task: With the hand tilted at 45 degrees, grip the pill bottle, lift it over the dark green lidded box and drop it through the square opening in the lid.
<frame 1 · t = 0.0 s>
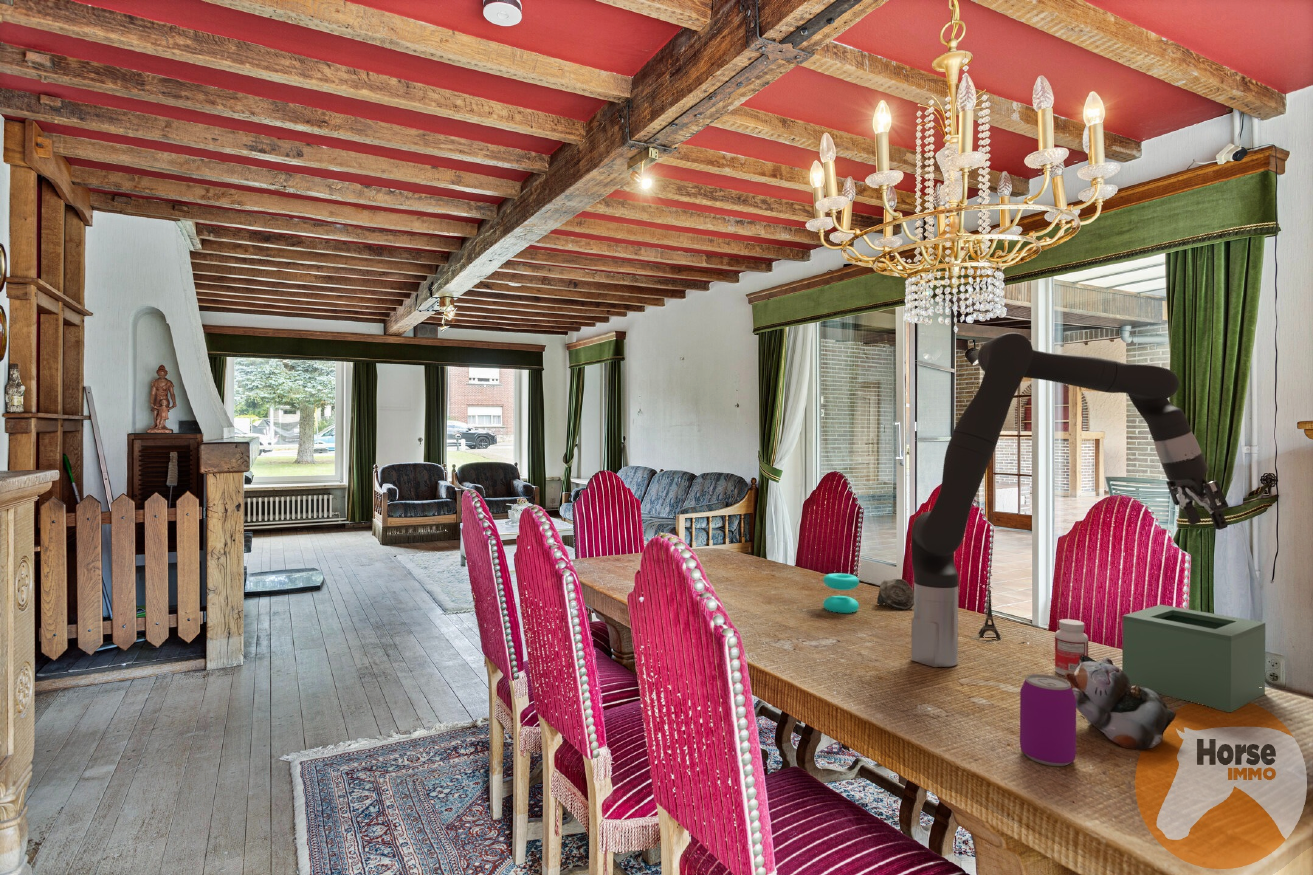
hand: (1208, 525, 154), 31 cm above the table, tool tilted 20°, fingers open, 8 cm apart
pill bottle: (1071, 674, 151), on the table
eiffel tower figurine: (987, 639, 180), on the table
lucky cat figurine: (1117, 735, 120), on the table
beverage can: (1047, 758, 111), on the table
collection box: (1192, 688, 143), on the table
donuts: (840, 610, 206), on the table
fossil: (895, 607, 211), on the table
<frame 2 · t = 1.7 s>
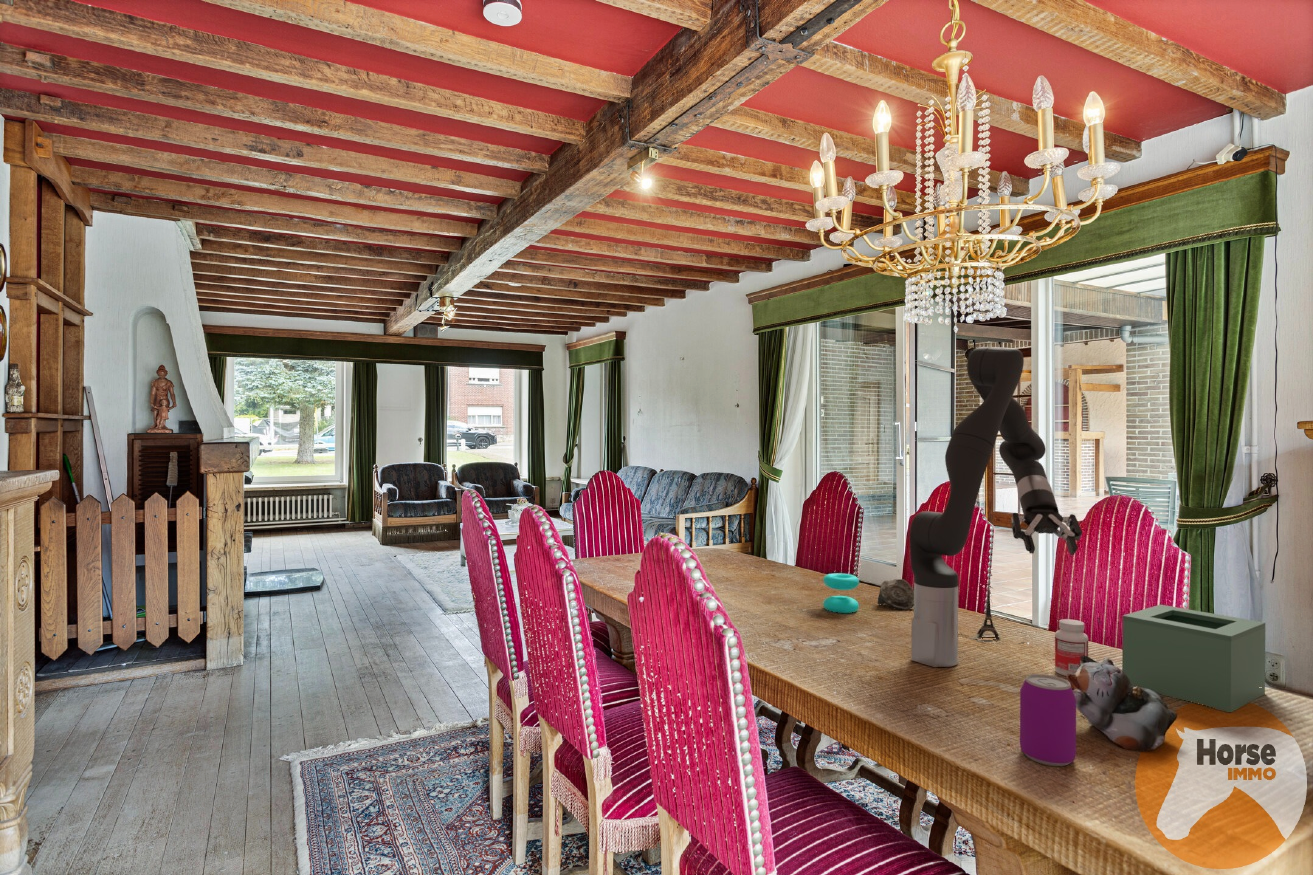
hand: (1052, 552, 163), 24 cm above the table, tool tilted 45°, fingers open, 8 cm apart
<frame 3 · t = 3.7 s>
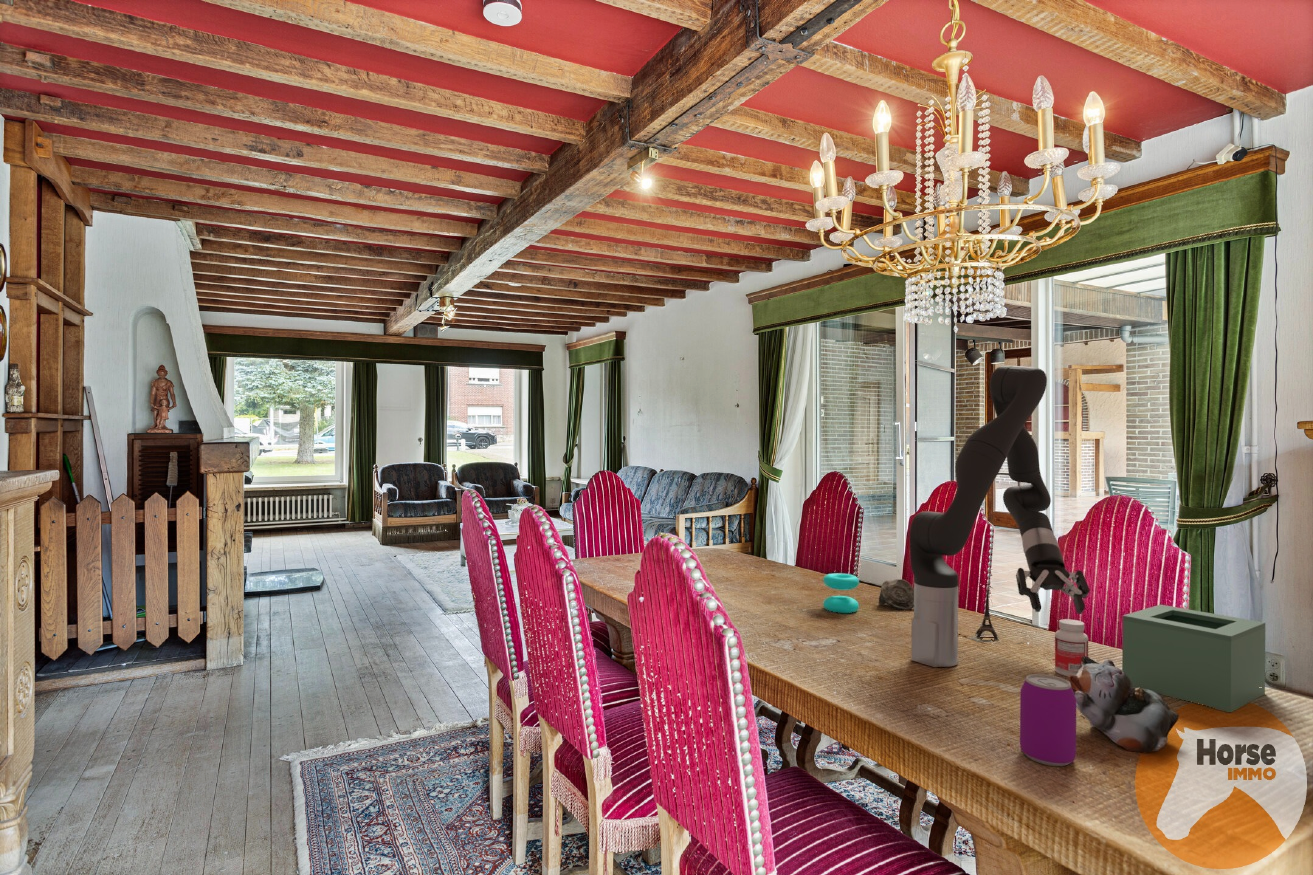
hand: (1059, 611, 158), 12 cm above the table, tool tilted 45°, fingers open, 8 cm apart
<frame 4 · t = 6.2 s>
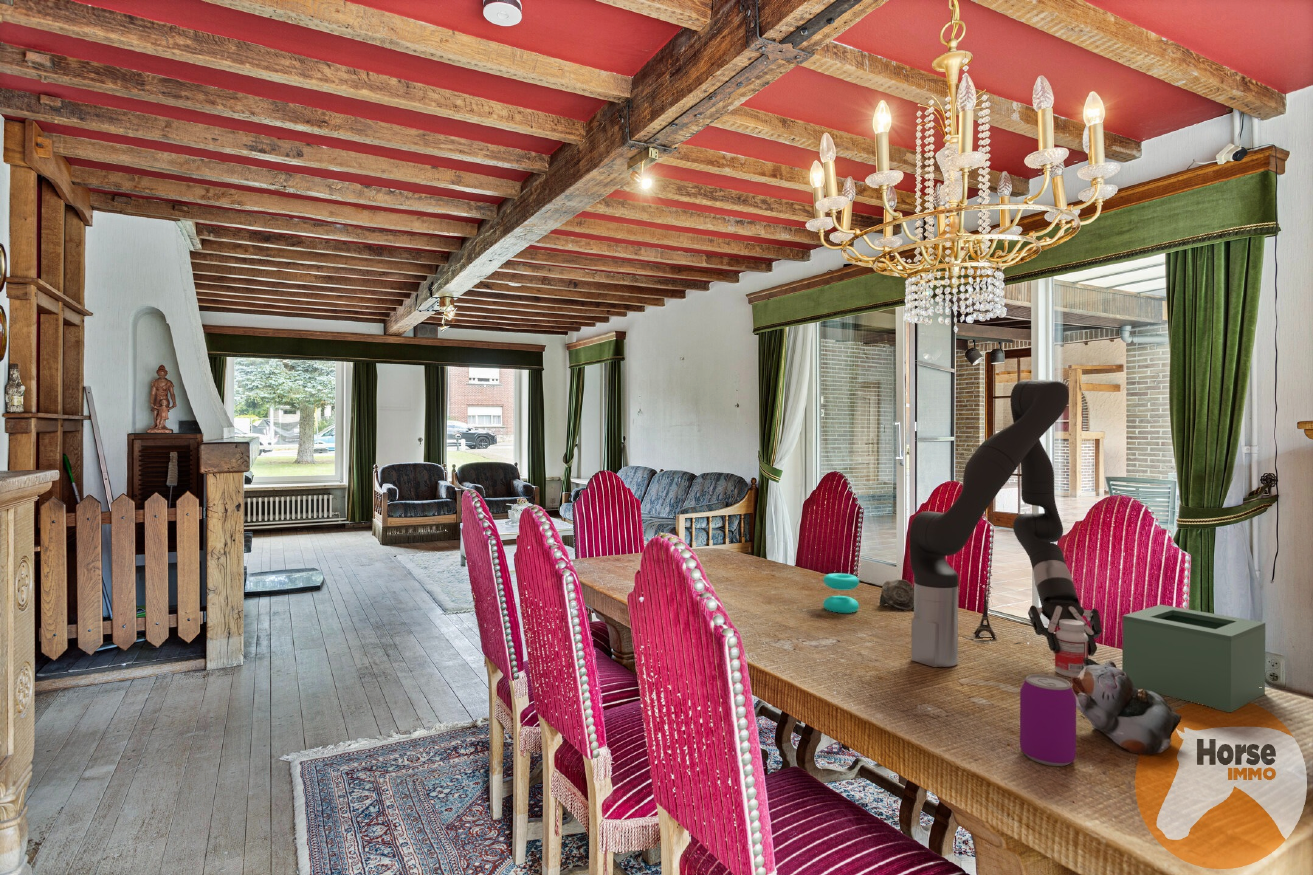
hand: (1074, 652, 150), 5 cm above the table, tool tilted 45°, fingers closed on pill bottle, 6 cm apart
pill bottle: (1071, 674, 151), on the table, touching gripper
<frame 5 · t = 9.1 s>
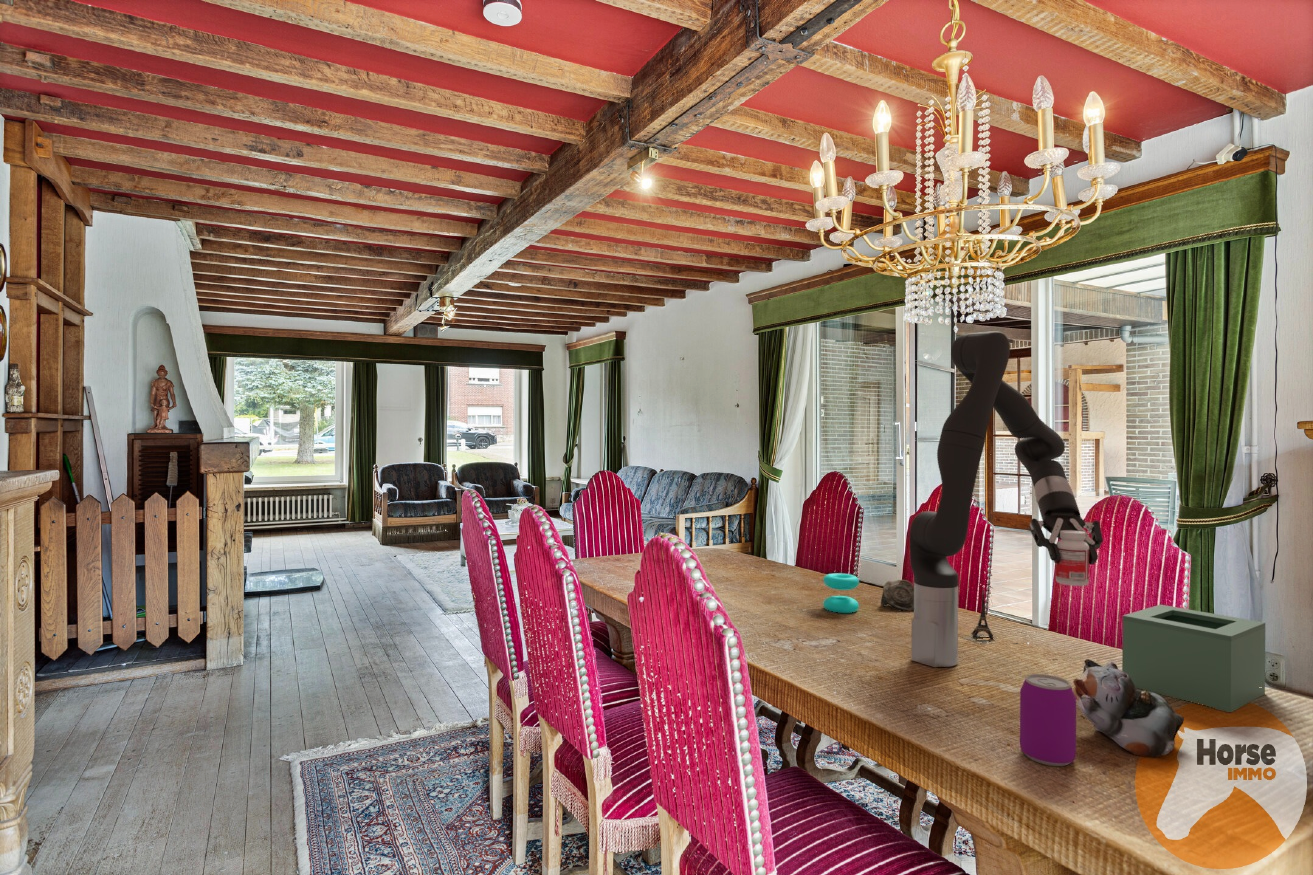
hand: (1075, 561, 150), 24 cm above the table, tool tilted 45°, fingers closed on pill bottle, 6 cm apart
pill bottle: (1072, 584, 152), point 19 cm above the table, touching gripper
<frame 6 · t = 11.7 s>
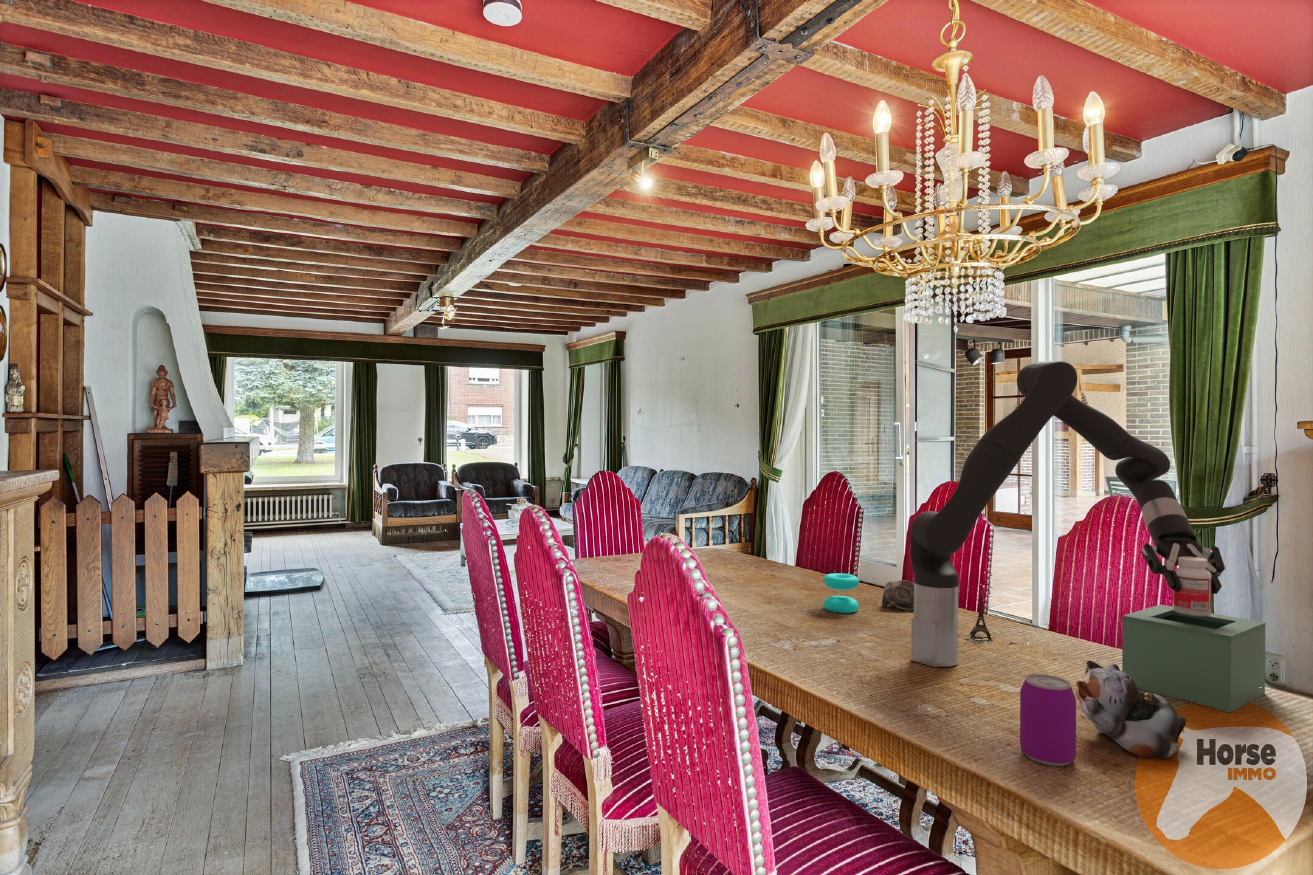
hand: (1197, 590, 141), 20 cm above the table, tool tilted 45°, fingers closed on pill bottle, 6 cm apart
pill bottle: (1191, 614, 143), point 15 cm above the table, touching gripper
when the fingers open (20 cm above the table, at t = 12.1 s): pill bottle drops 14 cm, resting on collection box.
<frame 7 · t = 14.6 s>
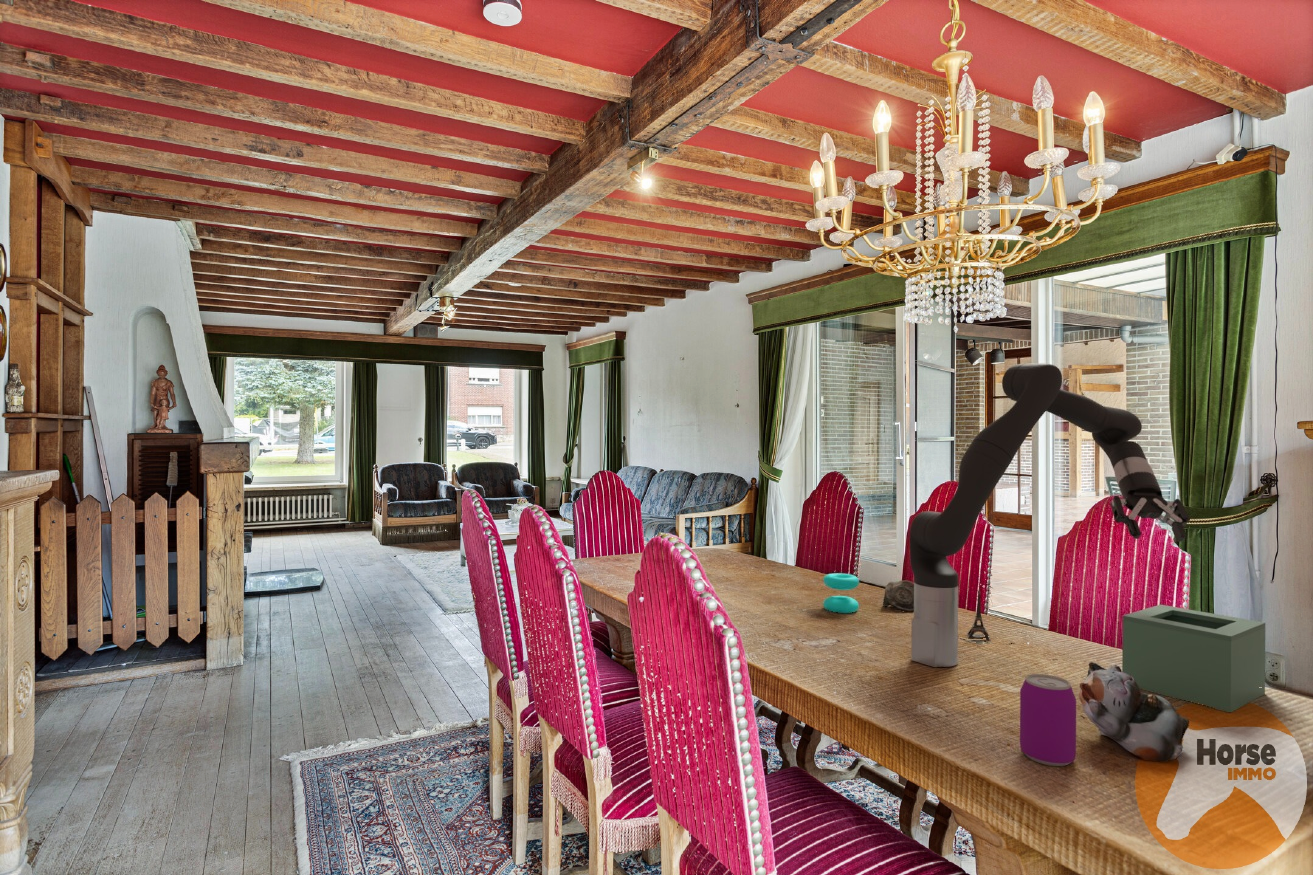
hand: (1159, 538, 155), 29 cm above the table, tool tilted 45°, fingers open, 8 cm apart
pill bottle: (1184, 681, 143), point 1 cm above the table, touching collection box
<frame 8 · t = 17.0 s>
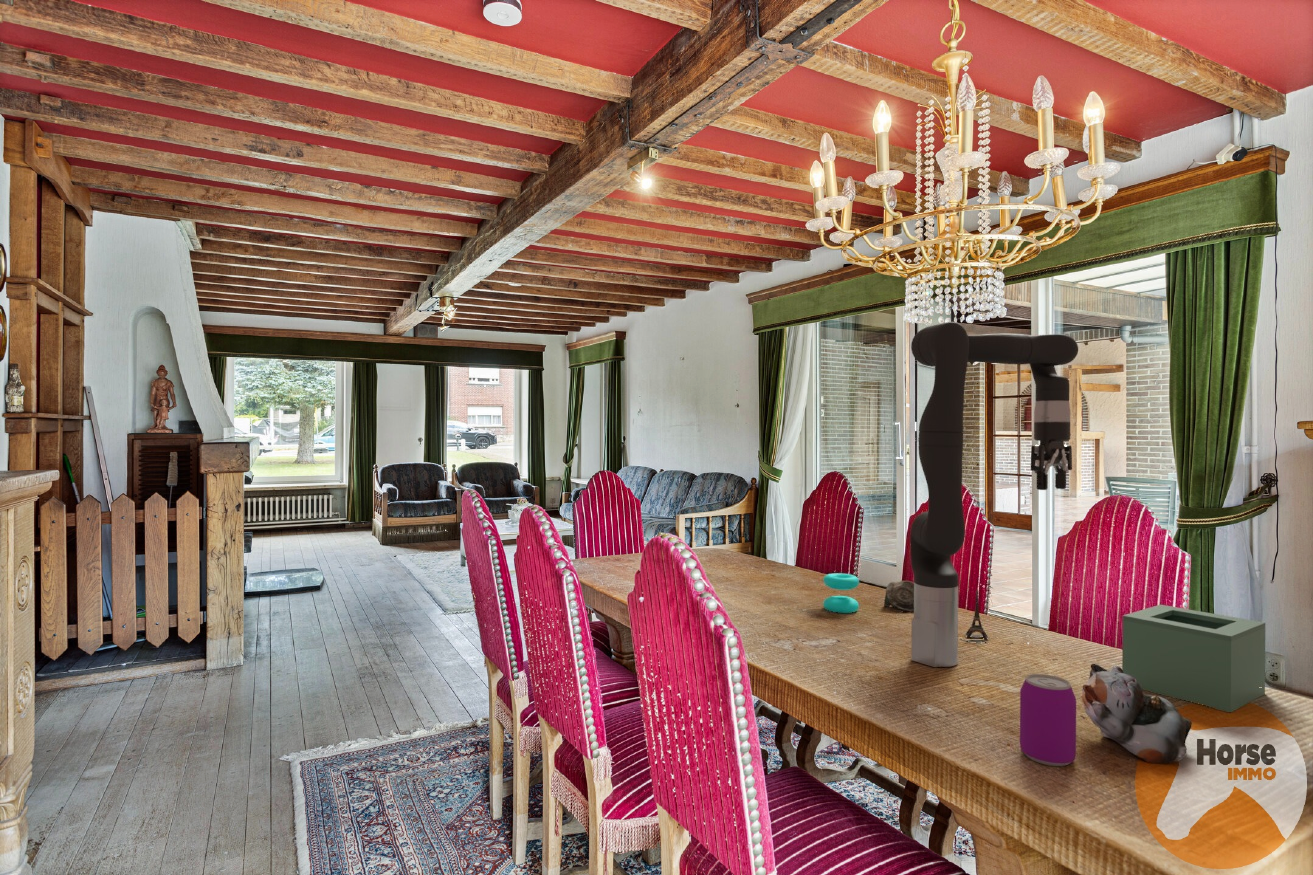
hand: (1051, 489, 168), 38 cm above the table, tool pointing down, fingers open, 8 cm apart
at the end: pill bottle inside the target area on the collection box (1.4 cm from its centre), point 1.4 cm above the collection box's base; the gripper is holding nothing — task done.
